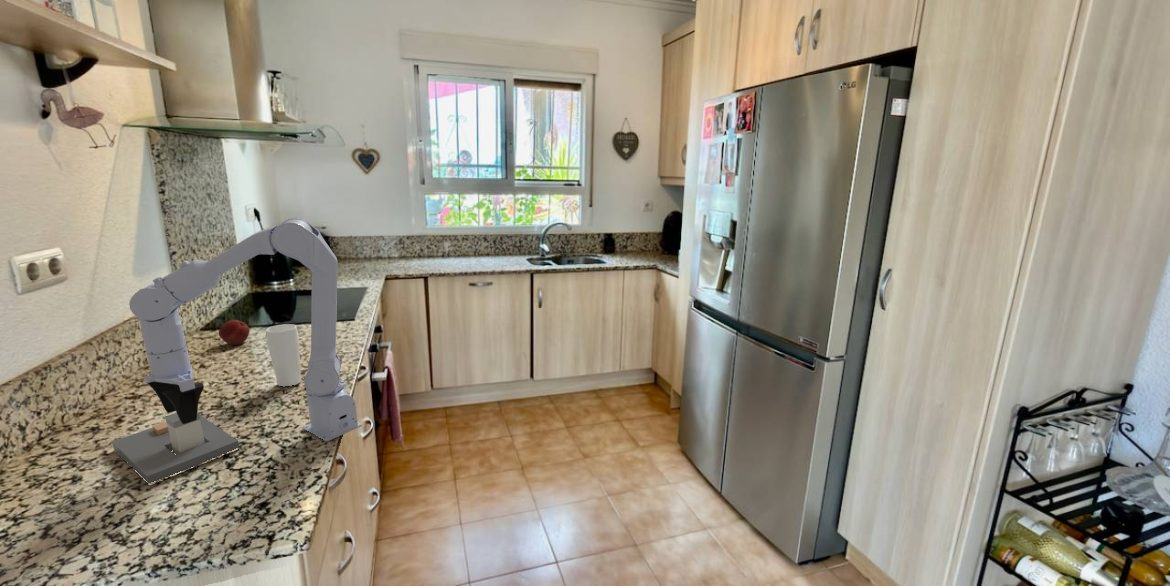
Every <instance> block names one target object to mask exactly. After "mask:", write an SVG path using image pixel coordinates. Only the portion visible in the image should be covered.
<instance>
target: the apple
mask: <svg viewBox="0 0 1170 586" xmlns="http://www.w3.org/2000/svg"><path fill="white" fill-rule="evenodd" d="M249 334H250V327H249V326H248V324H247V323H245V322H243V321H241V320H238V319H230V320H229V321H227V322H225V323H223V324H222V325H221V327H220V328H219V330H218V336H219V338H220V339H222V341H223V342H224V343H226V344H228V345H230V346H238V345H240V344H243V343H244V342H246V340H247V339H248V337H249Z"/></svg>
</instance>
